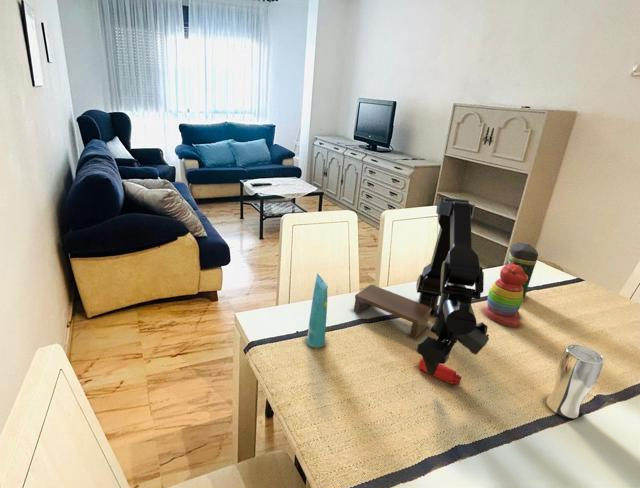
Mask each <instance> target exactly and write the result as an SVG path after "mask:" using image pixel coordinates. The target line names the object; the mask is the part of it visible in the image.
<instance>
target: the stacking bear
mask: <svg viewBox="0 0 640 488" xmlns="http://www.w3.org/2000/svg"><path fill="white" fill-rule="evenodd" d="M527 280H528V276H527V275H526V274H525V273H524V270H523V269H522V268H521V267H520V266H518V265H515V264H514V262H511V263H510V264H509V265H506V264H505V265H504V266H502V267H501V269H500V272H499V278H497V279H496V280H495V281H494V282H493V284H492V285H491V287H490V288H489V290H488V293H487V299H486V300H487V302H486V303H487V305H486V306H485V308H484V311H483V312H484V314H485V316H487V318H489V319H491V320H493V321H495V322H497V323H499V324H501V325H504V326H507V327H511V328H519V327H521V321H520V319H519V317H520V312H519V311H520V309H521V307H522V305H523V301H524V299H523V286H522V285H521V284H523V283H525V282H526V281H527Z"/></svg>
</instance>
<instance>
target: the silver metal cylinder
mask: <svg viewBox="0 0 640 488" xmlns="http://www.w3.org/2000/svg"><path fill="white" fill-rule="evenodd" d="M604 362H605V358H604V356H603V355H602V354H601V353H599V352H598V351H596V350H595V349H593V348H591V347H588V346H586V345H583V344H579V343H570V344H567V345H566V346H565V348H564V351H563V352H562V354H561V356H560V359H559V360H558V364H557V367H556V373H555V381H554V386H553V390H552V392H551V393H550V395H549V396H548V397H547V399H546V405H547V406H548V408H549V409H550V410H551V411H553V412H554V413H555V414H557V415H559V416H560V417H563V418H565V419H566V418H567V419H577V418H578V417H579V416H580V413H581V405H582V403H583V401H584V399H585V398H586V397H587V396H588V395H589V393H590V392H591V390H593V388H594V387H595V385H596V383H597V382H598V379H599V378H600V375H601V373H602V369H603V366H604Z"/></svg>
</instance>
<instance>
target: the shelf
mask: <svg viewBox="0 0 640 488" xmlns="http://www.w3.org/2000/svg"><path fill="white" fill-rule="evenodd" d="M354 300H355V301H354V306H353V312H354V313H357V314H359V313H360V312H362V311H363V310H364V309H366V308H367V307H368V306H372V307H375V308H377V309H379V310H382V311H384V312H387V313H388V314H391V315H393V316H396V317H398V318H401V319H403V320H406V321H408V322H410V323H411V328H410V333H409V337H411V338H412V339H416V338H418V336H419V335H420V334H421V333H422V332H423V331H424V330H425V329H426V328H427V327H428V325H429V321H430V316H431V315H430V312H431V309H432V308H431V307H429V306H426V305H423V304H421V303H418V301H415V300H413V299H410V298H408V297H406V296H402V295H400V294H397V293H395V292H393V291H390V290H387V289H385V288H382V287H379V286H377V285H374V284H372V283H371V284H369V285H368V286H366V287H365V288H363V289H362V290H360V291H359V292H357V293H356V294H355V295H354Z"/></svg>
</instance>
